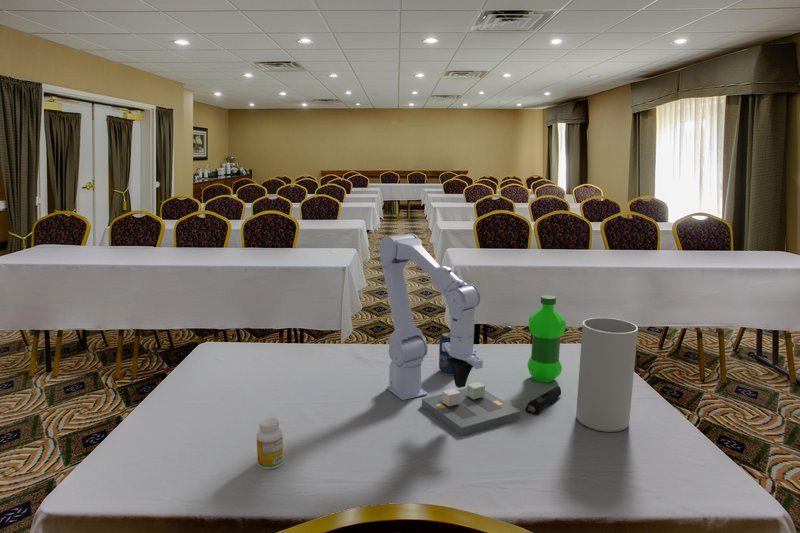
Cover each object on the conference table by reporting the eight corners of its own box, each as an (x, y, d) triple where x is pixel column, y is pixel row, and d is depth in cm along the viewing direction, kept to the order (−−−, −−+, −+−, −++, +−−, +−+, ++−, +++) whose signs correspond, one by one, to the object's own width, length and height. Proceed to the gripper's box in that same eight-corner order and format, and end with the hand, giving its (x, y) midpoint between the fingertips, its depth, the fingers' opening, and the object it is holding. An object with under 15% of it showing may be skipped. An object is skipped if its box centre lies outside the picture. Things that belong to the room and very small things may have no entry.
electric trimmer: (564, 398, 156) (565, 387, 155) (536, 416, 144) (537, 405, 144) (552, 394, 158) (552, 383, 158) (523, 412, 147) (524, 400, 146)
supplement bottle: (260, 457, 125) (258, 416, 123) (284, 456, 125) (283, 415, 123) (256, 470, 119) (253, 428, 117) (282, 469, 120) (280, 427, 118)
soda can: (434, 371, 173) (434, 333, 171) (449, 365, 178) (450, 328, 175) (451, 377, 168) (451, 339, 166) (466, 371, 173) (467, 334, 170)
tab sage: (466, 395, 151) (467, 384, 150) (477, 392, 152) (478, 381, 152) (473, 399, 148) (473, 388, 148) (484, 396, 150) (484, 385, 149)
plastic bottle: (567, 378, 168) (573, 296, 163) (550, 389, 161) (556, 303, 155) (537, 369, 175) (541, 290, 170) (519, 379, 167) (523, 297, 162)
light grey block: (442, 401, 147) (442, 391, 146) (453, 399, 148) (454, 388, 148) (448, 406, 144) (449, 395, 143) (460, 403, 146) (460, 392, 145)
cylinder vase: (590, 435, 135) (598, 334, 130) (567, 411, 147) (573, 318, 142) (639, 431, 137) (648, 332, 132) (612, 408, 149) (620, 316, 144)
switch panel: (421, 405, 150) (421, 398, 149) (476, 392, 158) (477, 385, 158) (461, 435, 134) (461, 427, 134) (520, 418, 143) (520, 410, 143)
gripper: (493, 340, 135) (491, 393, 137) (458, 323, 147) (456, 373, 150) (469, 345, 131) (467, 399, 134) (435, 327, 144) (434, 378, 146)
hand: (460, 386), depth 142 cm, fingers closed
